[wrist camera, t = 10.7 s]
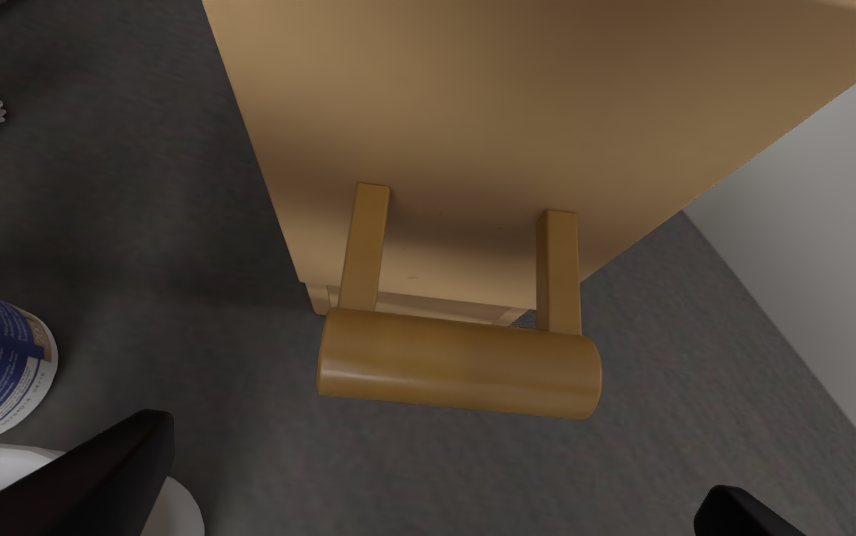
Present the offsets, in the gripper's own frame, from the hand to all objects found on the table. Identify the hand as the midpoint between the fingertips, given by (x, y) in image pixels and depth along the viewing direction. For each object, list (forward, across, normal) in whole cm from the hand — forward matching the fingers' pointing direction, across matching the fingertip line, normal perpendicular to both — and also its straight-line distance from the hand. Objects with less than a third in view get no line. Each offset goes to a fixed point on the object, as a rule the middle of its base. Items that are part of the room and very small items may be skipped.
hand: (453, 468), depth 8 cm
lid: (+5, 0, -3) cm, 6 cm away
